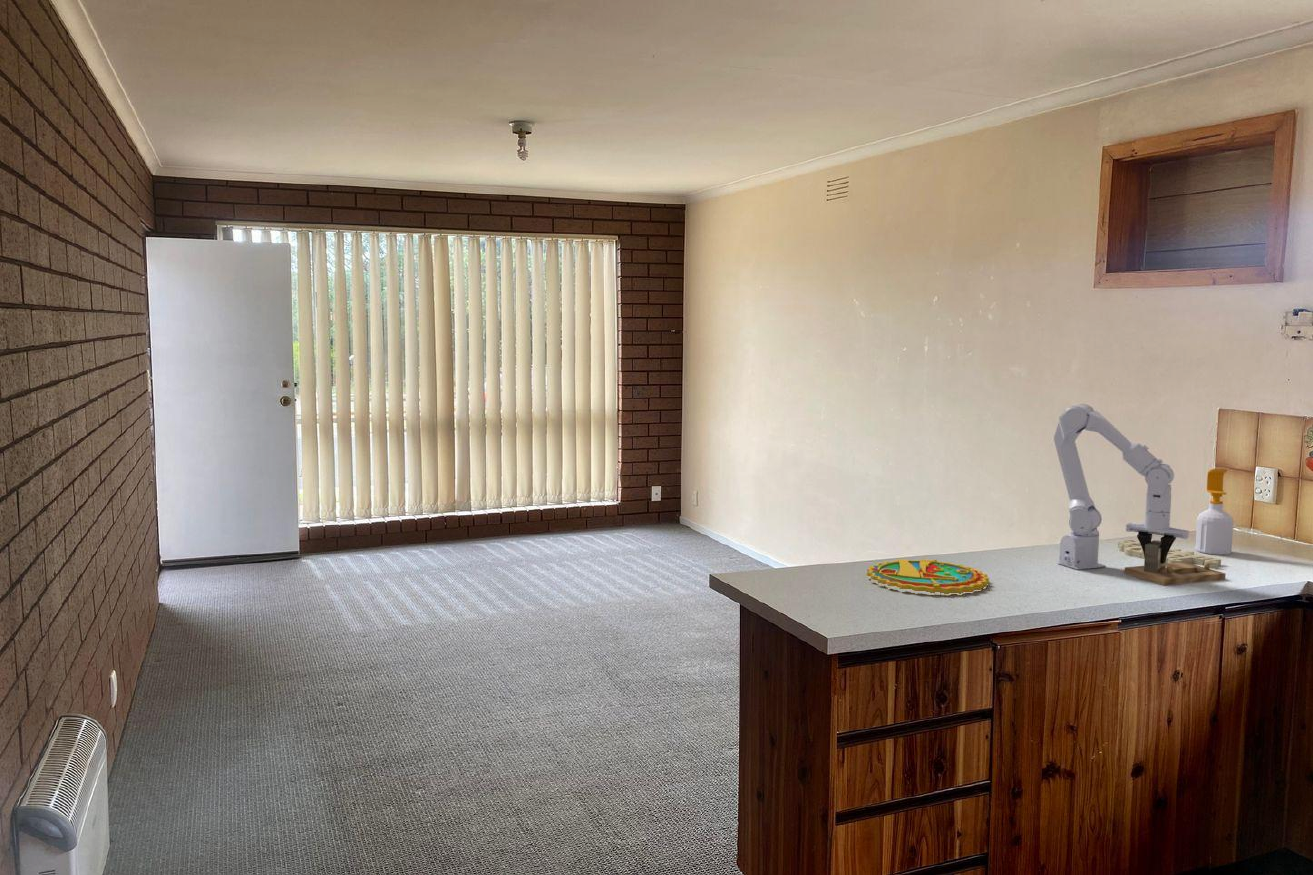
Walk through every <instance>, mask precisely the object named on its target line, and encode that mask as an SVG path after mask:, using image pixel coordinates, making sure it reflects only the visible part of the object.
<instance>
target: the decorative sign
mask: <svg viewBox="0 0 1313 875" xmlns="http://www.w3.org/2000/svg"><path fill="white" fill-rule="evenodd" d="M1117 548H1118V551H1119V552H1121V553H1122V552H1123V555H1124V556H1128V557H1134V558H1138V559H1143V560H1145V558H1144V553H1143V549H1142V546H1141V544H1140V542H1139V540H1135V539H1123V540H1122V542H1120V541H1118V542H1117ZM1179 562H1186V563H1189V564H1193V565H1197V566H1202V565H1203V566H1204V563H1209V564H1210V568H1209V569H1211V570H1216V569H1219V566H1218V565H1222V559H1221V558H1218V557H1212V556H1206V555H1204V554H1203V555H1202V554H1198V553H1195V551H1190V550H1186V551H1182V549H1181V548H1172V549H1171V548H1170V550H1169V552H1168V554H1167V557H1166V563H1165V564H1168V563H1179Z"/></svg>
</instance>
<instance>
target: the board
mask: <svg viewBox="0 0 1313 875" xmlns="http://www.w3.org/2000/svg"><path fill="white" fill-rule="evenodd" d="M1123 570H1124V574H1125V575H1129V576H1132V577H1135V578H1138V579H1141V580H1144V581H1148V582H1151V583H1154V584H1158V585H1159V586H1160V585H1161V586H1170V585H1171V586H1172V585H1184V584H1193V583H1194V584H1195V583H1203V582H1211V581H1212V582H1213V581H1214V582H1215V581H1223V580H1226V572H1221V571H1218V570H1216V569H1212V568H1210V564H1209V563H1204V565H1203V566H1201V565H1197V564H1193V563H1186V562H1179V563H1168V564H1165V568H1164V569H1162V570H1160V571H1159V572H1157V573H1153V572H1147V571H1144V565H1137V566H1135V565H1134V566H1127V567H1124V569H1123Z"/></svg>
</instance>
